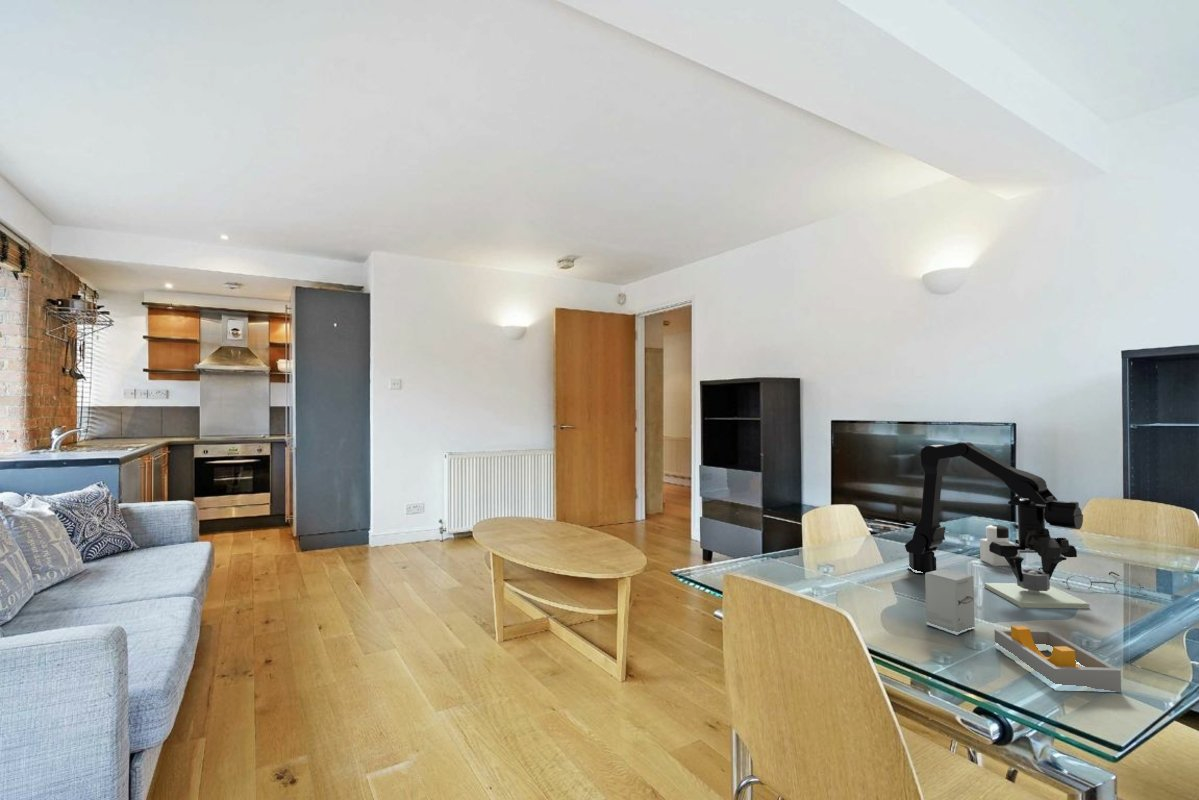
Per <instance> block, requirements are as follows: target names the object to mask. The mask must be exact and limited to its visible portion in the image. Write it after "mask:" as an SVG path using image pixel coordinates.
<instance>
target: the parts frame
mask: <svg viewBox="0 0 1199 800" xmlns="http://www.w3.org/2000/svg"><path fill="white" fill-rule="evenodd" d="M1031 635H1032V639H1033V641H1034V643H1035V644H1046V645H1050V646H1052V647H1059V646H1066V647H1069V648H1071V649H1073V650H1075V660H1076V661H1077V662H1079V663H1080V664H1081V665H1083V666H1085V667H1056V666H1055V665H1053V664H1052V663H1050V662H1049V661H1047V660H1046V659H1044V658H1043V657H1041V656H1039V655H1038V654H1036V653H1035V652H1033V651H1032V650H1030V649H1029V648H1027V647H1026V646H1024V645H1023V644H1021V643H1019V642H1018V641H1016V640H1015V639H1013V638H1012V637H1011V629H996V628H994V643H995V642H996V643H998V644H999V645H1000V646H1002V647H1003V648H1005V649H1006V650H1008V651H1009V652H1011V653H1013V654H1014V655H1015V656H1017V657H1018V658H1019V659H1020V660H1022V661H1023V662H1025V663H1026V664H1027V665H1029V666H1030V667H1031V668H1033V669H1034V670H1035V671H1037V672H1039V673H1040V674H1042V675H1043V676H1045V677H1046V678H1047V679H1049V680H1050V681H1052V682H1053V683H1055V684H1062V685H1076V686H1087V687H1091V688H1095V689H1104V690H1110V691H1116V692H1121V693H1122V677H1121V676H1122V674H1121V673H1122V672H1121V670H1120V669H1119V668H1117V667H1116V666H1113V665H1112V664H1110V663H1108V662H1106V661H1105V660H1103V659H1101V658H1100V657H1099V656H1096V655H1094V654H1092V653H1090V652H1089V651H1087V650H1085V649H1083V648H1082V647H1080V646H1078V645H1077V644H1075V643H1074V642H1071V641H1069V640H1068V639H1067V638H1064V637H1063V636H1060V635H1059V634H1056V632H1053V631H1052V630H1049V629H1047V630H1046V629H1031Z"/></svg>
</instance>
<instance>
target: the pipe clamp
mask: <svg viewBox="0 0 1199 800" xmlns="http://www.w3.org/2000/svg"><path fill="white" fill-rule="evenodd" d="M1010 630H1011V637H1012V638H1013V639H1015V640H1016V641H1018V642H1019V643H1021V644H1023V645H1024V646H1026V647H1027V648H1029V649H1030V650H1032V651H1033V652H1035V653H1036V654H1038V655H1039V656H1041V657H1043V658H1044V659H1046V660H1047V661H1049V662H1050V663H1052V664H1053V665H1055V666H1056V667H1082V666H1080V665H1078V664H1076V661H1075V650H1073V649H1071V648H1069V647H1066V646H1059V647H1053V651H1052V653H1051V655H1050V656H1045V655H1044V654H1043V652H1042V651H1039V650H1038V648H1037V647H1036V645H1035V643H1034V641H1033V639H1032V635H1031V630H1032V629H1031V628H1029V627H1027V626H1024V625H1011V626H1010Z"/></svg>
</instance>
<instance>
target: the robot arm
mask: <svg viewBox="0 0 1199 800" xmlns="http://www.w3.org/2000/svg"><path fill="white" fill-rule="evenodd" d="M957 457H962V458H964V459H966V460H967V461H969V462H970V463H973V464H974V465H976V466H978V467H979V468H981V469H983V470H984V471H986V472H988V473H989V474H990V475H992V476H994V477H996V478H998V479H999V480H1000V481H1002V482H1003V483H1004V485H1005V486H1006V487H1007V488H1008V489H1009V490H1010V491H1012V492H1013V493H1014V494H1015V496H1013V498H1012V499H1010V500H1009V501H1008V502H1007V504H1008V505H1012V506H1017V524H1014V528H1015V529H1017V532H1018V533H1017V534H1018V539H1015V544H1016V545H1012V544H1010V543H1007V542H991V544H990V545H989V551H990V552H992V553H994V554H997V555H999V556H1002V557H1005V559H1006V560H1007V562H1008V563H1009V565H1010V566H1009V567H1010V569H1011V570H1012V573H1013V574H1014V576H1015V578H1016V581H1017V580H1018V581H1019V582H1022V569H1023V568H1022V563H1023V561H1024V560H1025V558H1024V557H1021V553H1023V554H1025V553H1027V554H1028V553H1029V554H1030V553H1031V554H1033V553H1034V554H1037V555H1038V556H1039V557H1040V559H1041V567H1042V569H1041V570H1042V571H1044V572H1046V573H1049V579H1050V580H1051V579H1052V576H1053V575H1054V571H1055V569H1056V567H1057V566H1058V564H1059V563H1061V562H1062V561H1066V560H1067V559H1068V558H1077V557H1078V550H1077V548H1076V547H1075V546H1074V545H1073V544H1069V543H1070V542H1069V541H1070V540H1069V539H1067V538H1066V537H1051V535H1050V531H1049V528H1046V523H1047V524H1049V525H1050V526H1051V527H1056V528H1057V527H1058V528H1065V529H1071V530H1078V531H1079V530H1080V529H1082V526H1083V523H1084V514H1083V513H1082V510H1081V508H1080V505H1079V502H1078V501H1064V500H1063V501H1062V500H1058V499H1057V497H1056V496H1055V495H1054V494H1053V493H1052V491H1050V489H1049V488H1048V485H1047V481H1046V480H1045V479H1044V478H1043V477H1040V476H1038V475H1036V474H1033V473H1031V472H1029V471H1025V470H1021V469H1018V468H1015V467H1013V466H1011V465H1010V464H1007V463H1006V462H1004V461H1003V460H1000V459H998V458H997V457H995V456H993V455H991V454H990V453H988V452H986V451H985V450H983V449H981V448H979V447H978V446H975V445H974V444H973V443H972V442H969V441H960V442H957V443H953V444H948V445H944V444H931V445H925V446H923V448H921V449H920V452H919V458H920V466H921V468H922V470H923V471H922V472H923V473H924V478H923V487H922V488H923V490H922V500H921V511H920V518H919V521H918V522H917V524H916V525H915V527H914V530H913V534H912V539H910V540H909V541H908V542H907V543H905V544H904V547H905V550H906V552H907V553H908V566H910V567H911V568H912V569H914V570H917V571H921V572H923V573H927V572H931V571H935V570H937V557H936V556H935V552H936V551H937V549H938V547H939V546H940V545H941V544H942V543H943V541H945V540H946V538H945V533H946V527H945V526H941V524H940V521H939V516H940V504H941V494H942V485H943V483H942V482H943V476H944V473H945V471H946V470H947V468H948V465H949V463H950V459H952V458H957Z"/></svg>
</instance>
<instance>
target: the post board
mask: <svg viewBox="0 0 1199 800" xmlns="http://www.w3.org/2000/svg"><path fill="white" fill-rule="evenodd" d="M1028 573H1030V574H1038V573H1037V572H1035V571H1029V572H1028ZM983 586H984V588H985V589H986V590H989V591H990V592H992V593H994V594H996V595H998V596H1000V597H1001V598H1003V599H1004V600H1007V601H1008V602H1011V603H1013V604H1014V605H1016V606H1018V607H1019V608H1021V609H1023V608H1027V609H1028V608H1030V609H1034V608H1035V609H1090V603H1089V602H1088V601H1087V602H1086V601H1084V600H1082V599H1080V598H1078V597H1076V596H1073V595H1071V594H1069V593H1067V592H1065V591H1062V590H1060V589H1058V588H1057V587H1053V586H1051V585H1050V589H1049V590H1048V591H1034V590H1029V589H1024V588H1022V587H1020V586H1018V585H1017V582H1011V583H1010V582H984V584H983Z"/></svg>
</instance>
